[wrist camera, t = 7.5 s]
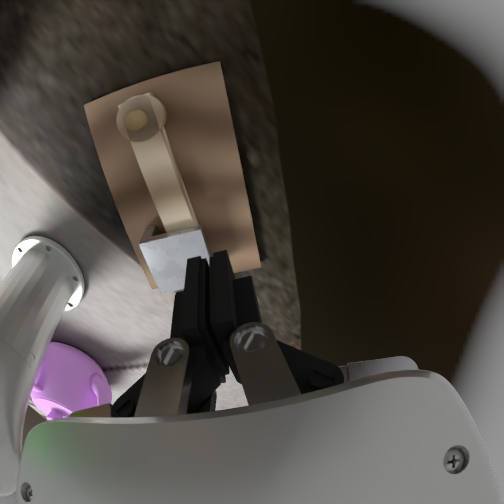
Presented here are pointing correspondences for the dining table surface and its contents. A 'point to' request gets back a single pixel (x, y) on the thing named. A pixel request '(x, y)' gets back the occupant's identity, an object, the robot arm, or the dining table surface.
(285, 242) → the dining table surface
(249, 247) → the walnut board
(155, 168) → the oak link
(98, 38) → the dining table surface
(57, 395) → the teapot
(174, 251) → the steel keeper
